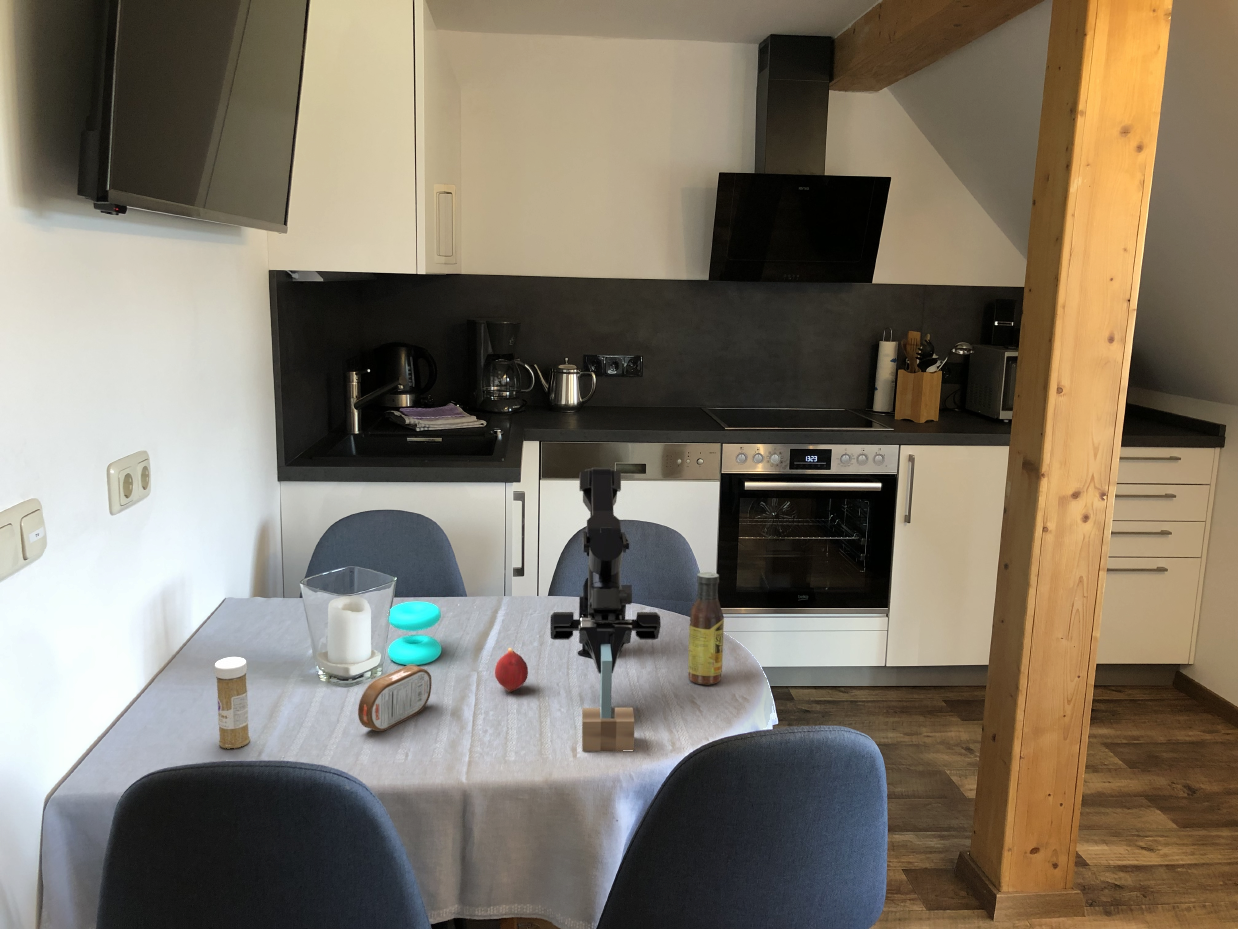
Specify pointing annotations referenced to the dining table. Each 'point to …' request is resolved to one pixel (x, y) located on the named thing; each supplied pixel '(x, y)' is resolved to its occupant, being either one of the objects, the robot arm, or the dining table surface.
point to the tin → (394, 697)
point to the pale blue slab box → (605, 681)
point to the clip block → (607, 730)
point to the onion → (511, 671)
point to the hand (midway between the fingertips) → (605, 672)
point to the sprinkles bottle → (232, 702)
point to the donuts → (414, 646)
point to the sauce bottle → (706, 632)
